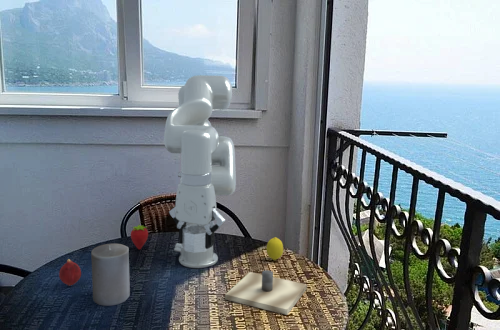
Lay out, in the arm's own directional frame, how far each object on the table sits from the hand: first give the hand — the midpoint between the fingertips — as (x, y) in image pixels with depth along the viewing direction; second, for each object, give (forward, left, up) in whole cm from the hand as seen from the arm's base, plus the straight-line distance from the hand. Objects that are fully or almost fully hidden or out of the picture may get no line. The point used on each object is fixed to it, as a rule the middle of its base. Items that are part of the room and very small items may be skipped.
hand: (196, 243), depth 120 cm
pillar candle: (-22, -8, -17) cm, 29 cm away
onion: (-37, -8, -17) cm, 41 cm away
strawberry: (-37, +23, -17) cm, 46 cm away
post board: (+15, +13, -16) cm, 26 cm away
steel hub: (0, 0, -1) cm, 1 cm away
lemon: (+8, +36, -17) cm, 40 cm away
